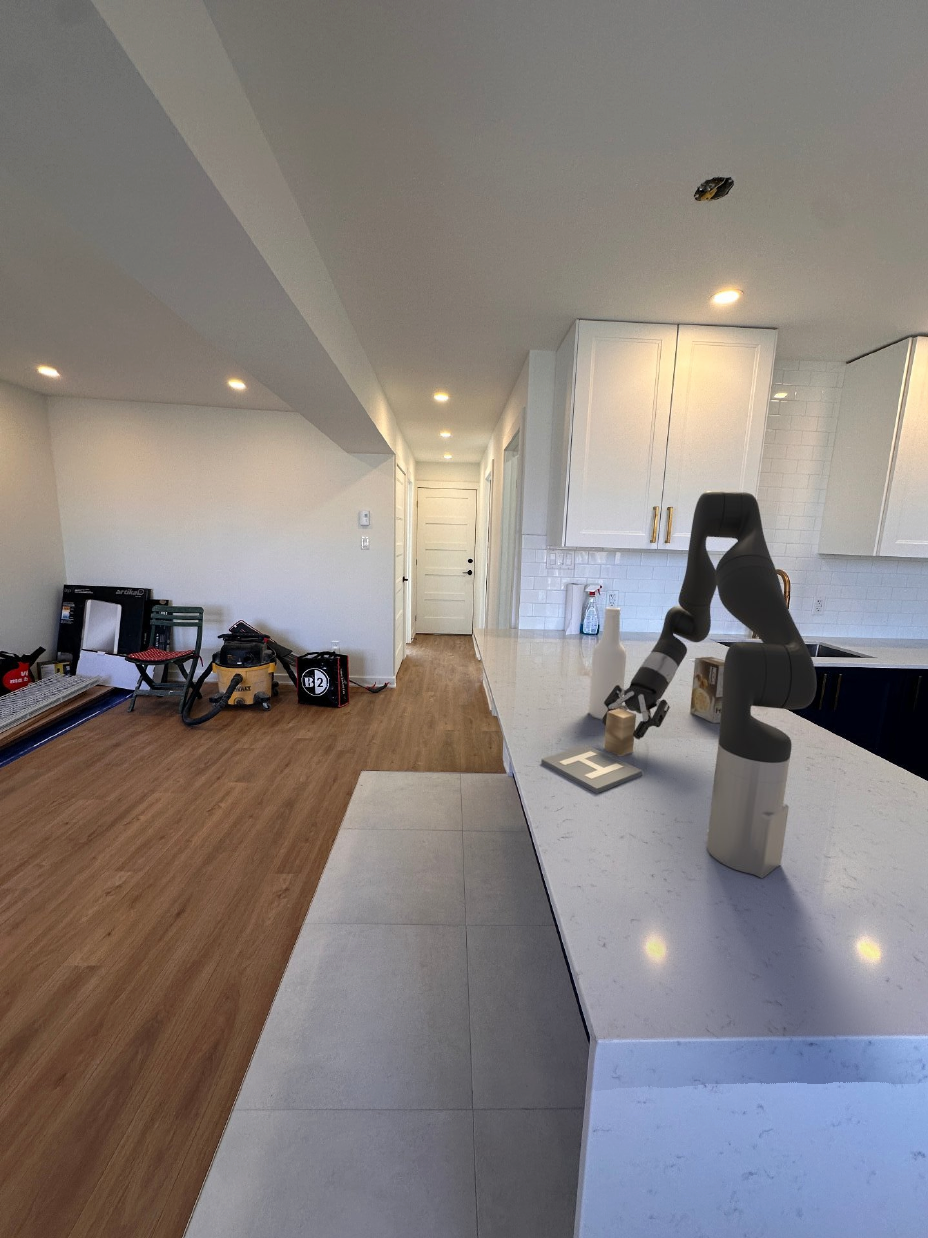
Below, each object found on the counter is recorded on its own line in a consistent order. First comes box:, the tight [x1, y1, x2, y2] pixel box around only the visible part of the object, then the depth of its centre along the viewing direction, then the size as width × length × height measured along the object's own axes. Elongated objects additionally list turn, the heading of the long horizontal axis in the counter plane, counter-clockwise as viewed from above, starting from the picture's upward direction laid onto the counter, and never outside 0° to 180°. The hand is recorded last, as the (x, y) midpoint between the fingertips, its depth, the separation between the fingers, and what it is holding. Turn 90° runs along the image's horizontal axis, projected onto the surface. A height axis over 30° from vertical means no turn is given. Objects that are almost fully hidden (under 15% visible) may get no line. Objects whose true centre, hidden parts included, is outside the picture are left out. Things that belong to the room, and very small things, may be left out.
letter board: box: [540, 744, 643, 794], centre depth 103 cm, size 15×14×1 cm
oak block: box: [603, 708, 637, 757], centre depth 112 cm, size 4×4×9 cm
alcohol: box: [588, 606, 627, 721], centre depth 134 cm, size 9×9×30 cm
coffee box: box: [689, 656, 725, 724], centre depth 136 cm, size 9×6×16 cm
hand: (619, 731), depth 112 cm, fingers open, 8 cm apart
